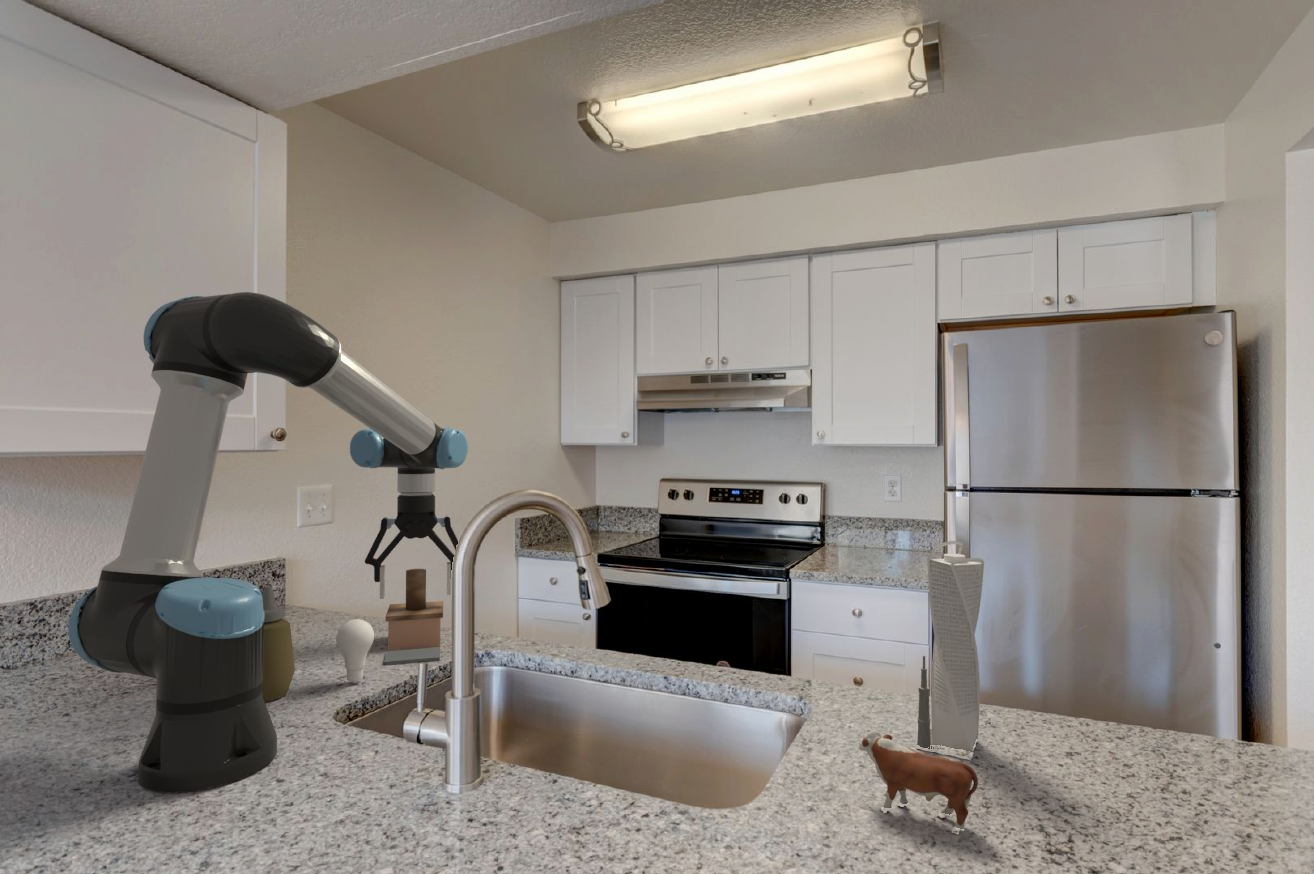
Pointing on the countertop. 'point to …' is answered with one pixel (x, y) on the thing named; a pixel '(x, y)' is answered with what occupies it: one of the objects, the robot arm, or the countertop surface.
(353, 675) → the lightbulb
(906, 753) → the bull figurine
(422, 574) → the lid
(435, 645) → the pink open box
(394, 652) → the mat
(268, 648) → the squeeze bottle
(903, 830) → the countertop surface
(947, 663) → the skyscraper
